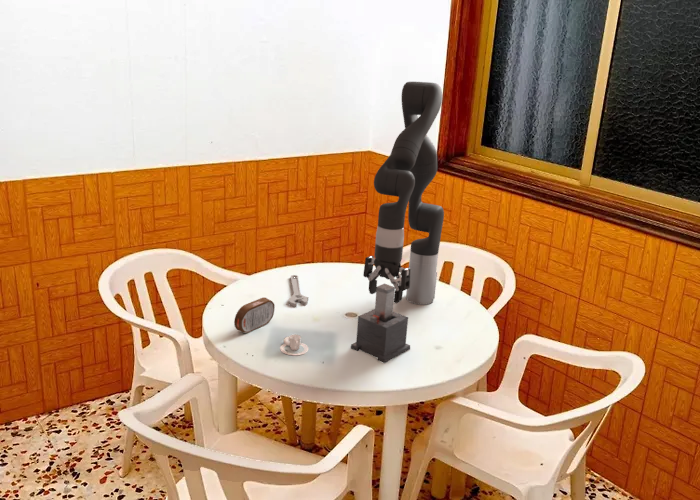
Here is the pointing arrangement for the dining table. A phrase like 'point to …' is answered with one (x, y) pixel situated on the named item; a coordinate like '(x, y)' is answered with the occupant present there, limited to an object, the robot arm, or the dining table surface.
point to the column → (384, 302)
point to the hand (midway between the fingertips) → (384, 297)
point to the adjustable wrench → (296, 293)
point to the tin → (254, 315)
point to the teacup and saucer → (293, 344)
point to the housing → (381, 336)
